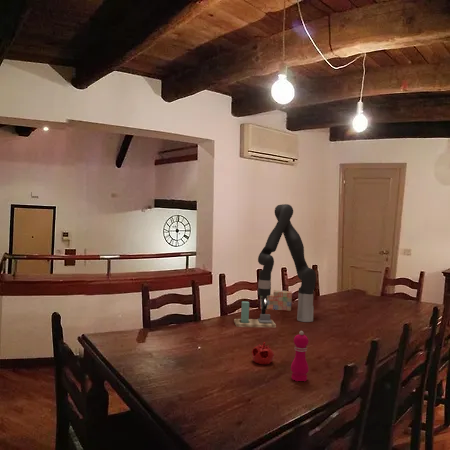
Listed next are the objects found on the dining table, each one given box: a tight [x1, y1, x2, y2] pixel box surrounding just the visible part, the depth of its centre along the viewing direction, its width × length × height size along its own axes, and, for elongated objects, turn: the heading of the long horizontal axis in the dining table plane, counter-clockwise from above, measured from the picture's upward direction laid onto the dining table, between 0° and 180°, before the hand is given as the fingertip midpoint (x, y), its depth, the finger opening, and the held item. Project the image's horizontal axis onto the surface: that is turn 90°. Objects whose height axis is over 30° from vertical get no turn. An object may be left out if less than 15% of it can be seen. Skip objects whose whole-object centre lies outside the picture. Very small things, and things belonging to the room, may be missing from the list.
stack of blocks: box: [259, 289, 293, 312], centre depth 308 cm, size 21×6×12 cm, turn 85°
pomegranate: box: [251, 341, 275, 365], centre depth 201 cm, size 10×10×9 cm
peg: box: [240, 300, 250, 323], centre depth 262 cm, size 4×4×13 cm
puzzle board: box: [233, 318, 277, 329], centre depth 263 cm, size 23×12×2 cm, turn 95°
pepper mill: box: [290, 330, 309, 382], centre depth 183 cm, size 7×7×20 cm
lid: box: [257, 313, 272, 323], centre depth 264 cm, size 7×7×4 cm
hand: (263, 315), depth 270 cm, fingers closed
